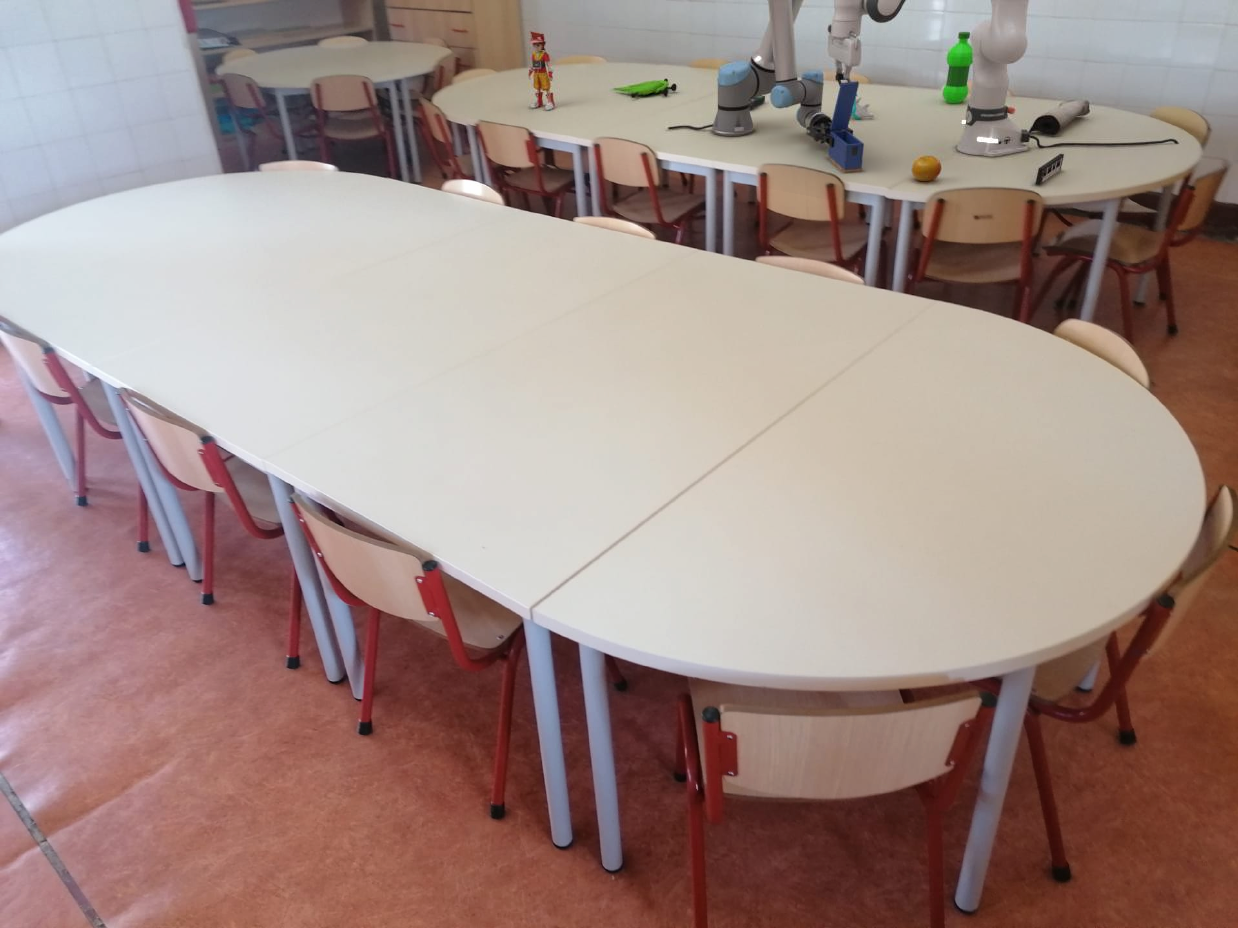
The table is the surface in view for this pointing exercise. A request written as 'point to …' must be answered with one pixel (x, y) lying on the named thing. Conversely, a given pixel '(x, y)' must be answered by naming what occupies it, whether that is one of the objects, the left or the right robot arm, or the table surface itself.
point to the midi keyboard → (1049, 169)
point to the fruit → (926, 168)
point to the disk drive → (756, 101)
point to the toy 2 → (648, 88)
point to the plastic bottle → (958, 70)
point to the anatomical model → (860, 110)
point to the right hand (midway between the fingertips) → (842, 76)
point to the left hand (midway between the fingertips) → (842, 142)
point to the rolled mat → (1060, 117)
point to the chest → (846, 151)
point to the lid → (844, 103)
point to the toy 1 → (541, 71)
